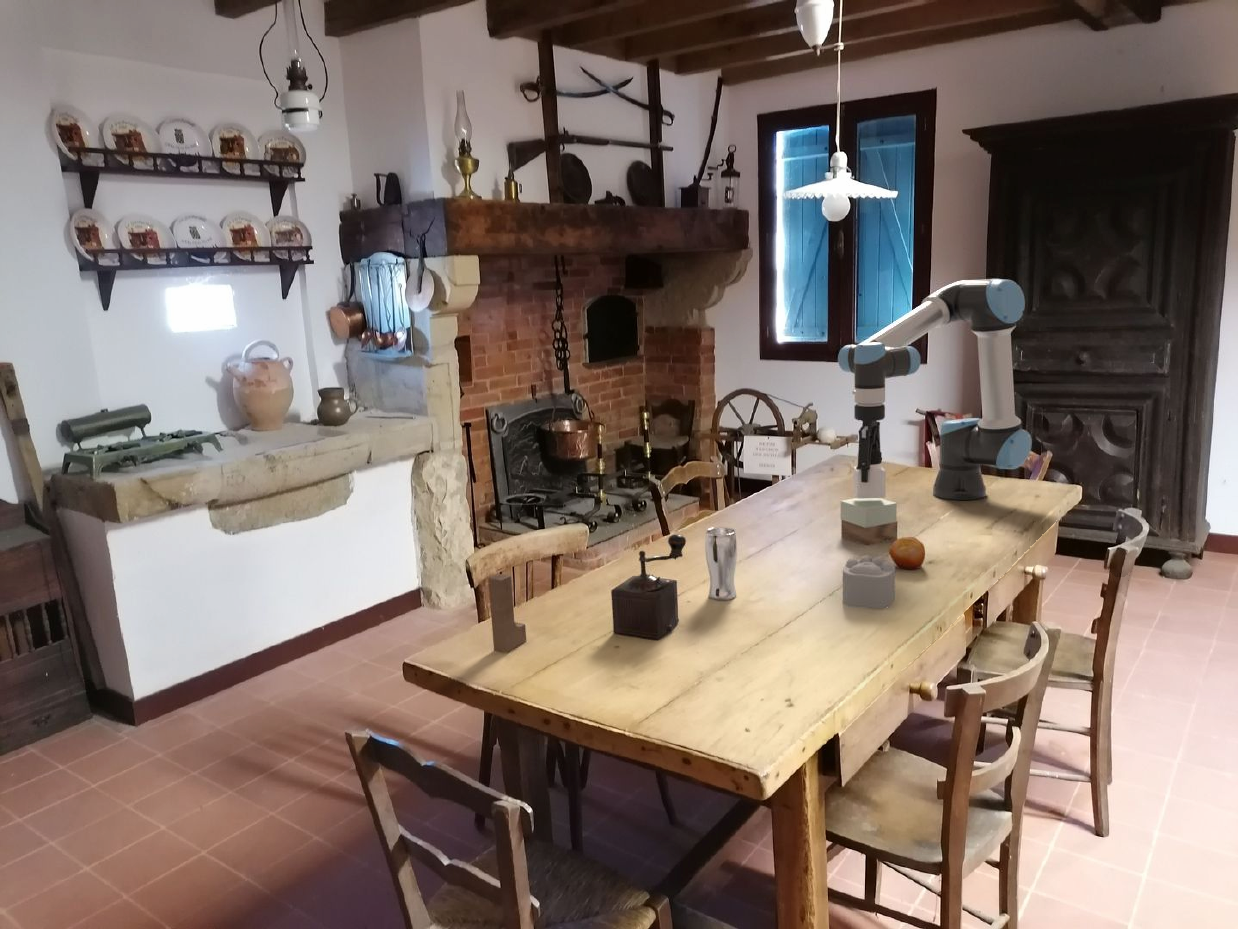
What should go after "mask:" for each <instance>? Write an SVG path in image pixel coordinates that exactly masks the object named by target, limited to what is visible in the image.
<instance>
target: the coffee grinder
mask: <svg viewBox="0 0 1238 929" xmlns="http://www.w3.org/2000/svg"><path fill="white" fill-rule="evenodd" d="M686 542H687V540H686V537H684V535H682V534H671V535H670V536H668V539H667V543H668V545H669V547H670V553H669V555H657V556H655V555H654V556H650V557H646V552H645V550H639V552H638V555H639V558H638V561H639V562H640V574H638V575H633V576H631V577H629V578H628V579H626V580H625V581H622V582H621V583H620V584H619V585H617V586H615V587H614V588H612V589H611V591H610V592H611V593H610V594H611V608H612V609H611V610H612V611H611V612H612V625H613V626H612V630H613V634H615V635H620V636H626V637H631V638H633V637H634V638H638V639H645V640H651V641H659V640H660V639H662V638H664V637H665V636H666V635H667V634H669V633H670V632H672V631H673V629H674V628H675V627H676V626H677V625H678V624H679V622H680V619H679V605H678V604H679V603H678V602H679V601H678V581H677V580H676V579H669V578H662V577H660V576H658V577H657V576H655V575H654V574H648V573H646V563H650V562H654V561H667V560H673V559H674V560H676V559H678V558H682V557H683V549H684V548H685V546H686Z"/></svg>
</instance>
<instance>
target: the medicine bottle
mask: <svg viewBox="0 0 1238 929" xmlns="http://www.w3.org/2000/svg"><path fill="white" fill-rule="evenodd" d="M856 456H857V458H856V460H857V461H856V462H857V463H856V465H854V466H853V472H852V473H853V482H852V483H853V484H852V486H853V493H854V495H855V496H856V498H858V499H862V498H881V499H885V498H886V495H887V492H886V488H887V487H886V485H887V484H886V483H887V482H886V480H887V479H886V477H887V476H886V474H887V472H886V470H885V469H884V467H883V466H882V461H883V457H882V452H881V450H880V451H879V450H876V449H872V452H871V462H870V469H871V495H866V494H860V470H858V469H856V467H857V466H858V452H857V453H856Z"/></svg>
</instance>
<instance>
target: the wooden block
mask: <svg viewBox="0 0 1238 929" xmlns="http://www.w3.org/2000/svg"><path fill="white" fill-rule="evenodd" d="M487 582H488V584H487V585H488V593H489V606H490V615H491V616H490V618H491V628H492V629H491V630H492V640H493V643H492V644H493V650H494V651H496V652H501V653H505V654H507V653H509V652H510V651H512V650H514V649H515V648H517V647H519V646H520V645H523V643H525V642H527V631H526V630H527V629H526V624H525V623H523V622H522V623H521V622H516V621H515V612H514V599H513V598H514V597H513V586H512V576H511V575H510V574H509V575H508V574H502V573H496V574H494V575H492V576H490V577H488V578H487Z"/></svg>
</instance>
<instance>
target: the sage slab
mask: <svg viewBox="0 0 1238 929" xmlns="http://www.w3.org/2000/svg"><path fill="white" fill-rule="evenodd" d="M897 505H898V504H897V502H894V501H891V500H887V499H885V498H862V499H858V498H857V497H856V498H855V497H854V498H849V499H844V500H840V520H844V521H847V522H850V523H853V524H856V525H859V526H862V527H864V528H868V527H873V526H878V525H883V524H888V523H893V522H896V521H897V514H898V512H897V507H898V506H897Z"/></svg>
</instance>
